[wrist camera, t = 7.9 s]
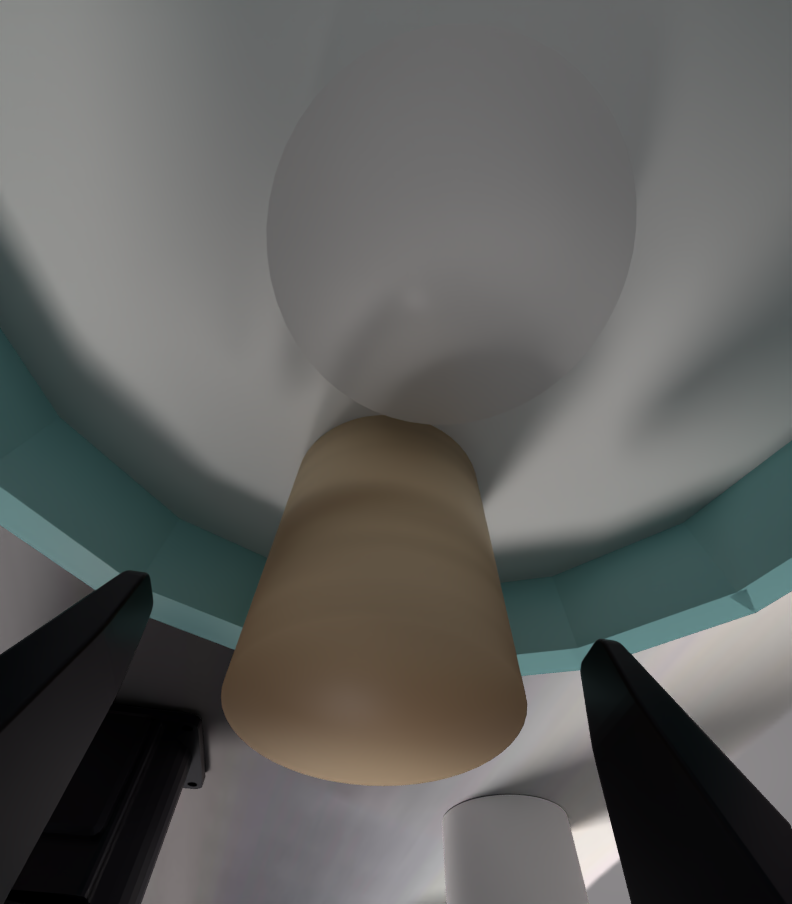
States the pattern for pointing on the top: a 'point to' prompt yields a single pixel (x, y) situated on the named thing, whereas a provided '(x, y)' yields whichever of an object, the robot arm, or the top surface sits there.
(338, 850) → the top surface
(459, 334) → the groove tray
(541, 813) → the cylindrical container
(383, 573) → the wood cylinder
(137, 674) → the top surface
